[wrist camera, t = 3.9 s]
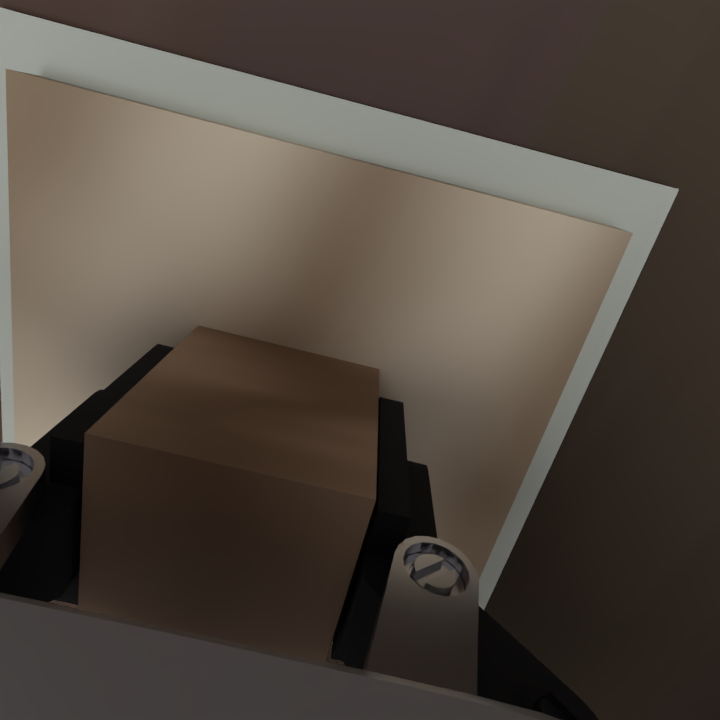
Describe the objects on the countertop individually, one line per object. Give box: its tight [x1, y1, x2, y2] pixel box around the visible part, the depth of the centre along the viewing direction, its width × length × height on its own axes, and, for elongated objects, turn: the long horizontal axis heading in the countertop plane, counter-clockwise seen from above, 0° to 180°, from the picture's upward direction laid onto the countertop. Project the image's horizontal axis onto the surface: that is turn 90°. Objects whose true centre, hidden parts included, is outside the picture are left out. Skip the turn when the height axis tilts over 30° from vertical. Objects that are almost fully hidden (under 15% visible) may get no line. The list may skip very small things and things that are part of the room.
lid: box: [6, 69, 633, 661], centre depth 10 cm, size 12×12×6 cm
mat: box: [0, 8, 679, 610], centre depth 13 cm, size 14×14×1 cm
